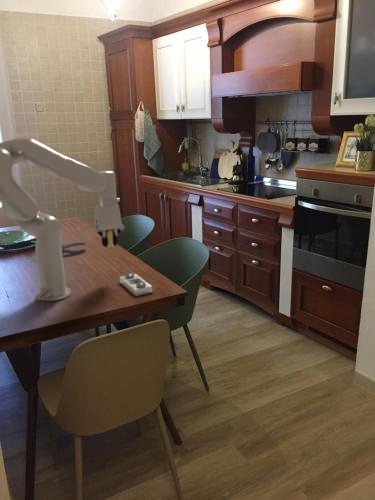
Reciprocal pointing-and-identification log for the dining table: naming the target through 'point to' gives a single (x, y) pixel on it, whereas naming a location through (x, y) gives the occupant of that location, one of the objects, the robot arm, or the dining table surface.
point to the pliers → (72, 250)
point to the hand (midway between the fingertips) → (109, 245)
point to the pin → (110, 239)
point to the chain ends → (135, 284)
